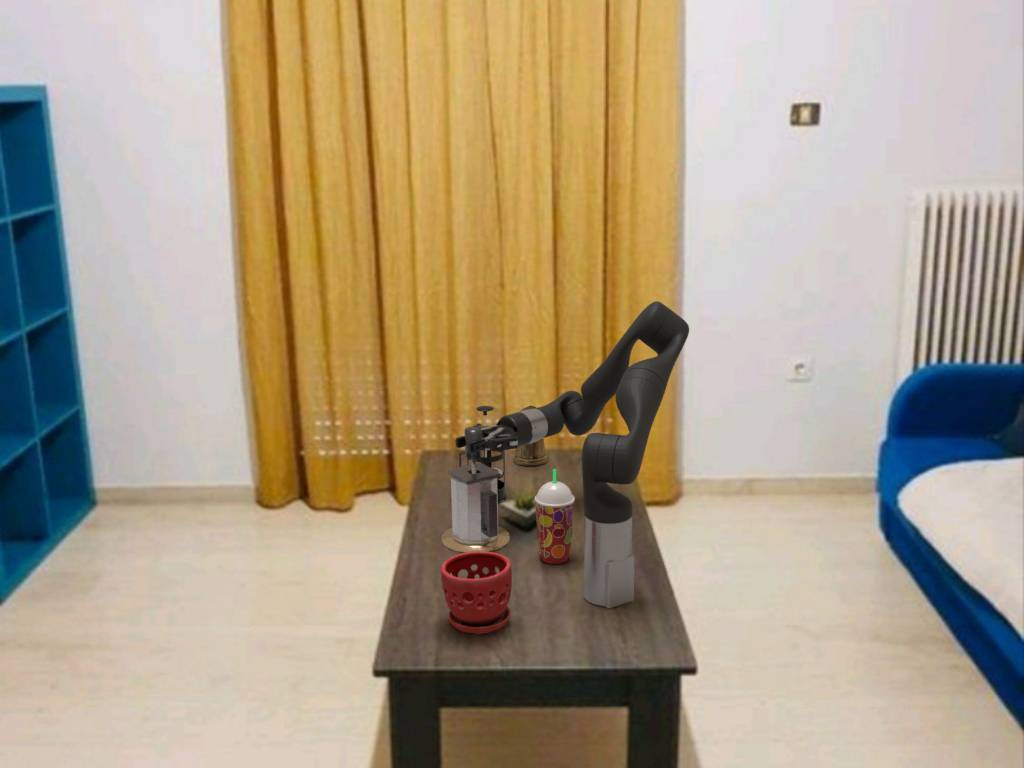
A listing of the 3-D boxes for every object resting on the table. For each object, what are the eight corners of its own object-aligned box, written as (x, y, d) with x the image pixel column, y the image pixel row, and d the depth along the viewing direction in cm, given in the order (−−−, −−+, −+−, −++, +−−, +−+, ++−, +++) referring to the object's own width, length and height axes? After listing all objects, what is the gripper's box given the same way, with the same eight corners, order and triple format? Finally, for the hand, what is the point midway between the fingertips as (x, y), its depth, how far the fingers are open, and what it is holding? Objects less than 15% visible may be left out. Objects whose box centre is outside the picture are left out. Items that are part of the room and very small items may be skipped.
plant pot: (507, 603, 214) (506, 546, 211) (517, 636, 201) (516, 576, 198) (440, 608, 212) (438, 551, 209) (445, 642, 200) (443, 582, 196)
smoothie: (547, 547, 239) (546, 460, 233) (581, 555, 235) (581, 467, 229) (527, 561, 232) (526, 472, 226) (562, 570, 228) (562, 479, 222)
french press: (510, 490, 271) (508, 401, 265) (507, 505, 262) (506, 413, 256) (462, 490, 272) (460, 401, 265) (458, 504, 263) (455, 412, 256)
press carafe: (523, 543, 241) (522, 475, 236) (463, 559, 233) (461, 490, 229) (487, 520, 253) (486, 455, 249) (429, 535, 246) (427, 468, 242)
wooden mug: (513, 473, 283) (512, 406, 278) (513, 455, 296) (512, 391, 291) (548, 472, 283) (547, 405, 278) (546, 455, 296) (546, 390, 291)
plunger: (499, 528, 241) (497, 430, 235) (468, 536, 238) (466, 437, 231) (481, 517, 248) (479, 421, 241) (451, 524, 244) (448, 427, 238)
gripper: (501, 405, 250) (441, 421, 240) (544, 419, 240) (483, 436, 229) (502, 436, 253) (442, 454, 242) (544, 451, 242) (484, 470, 231)
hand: (463, 445), depth 235 cm, fingers open, 3 cm apart
